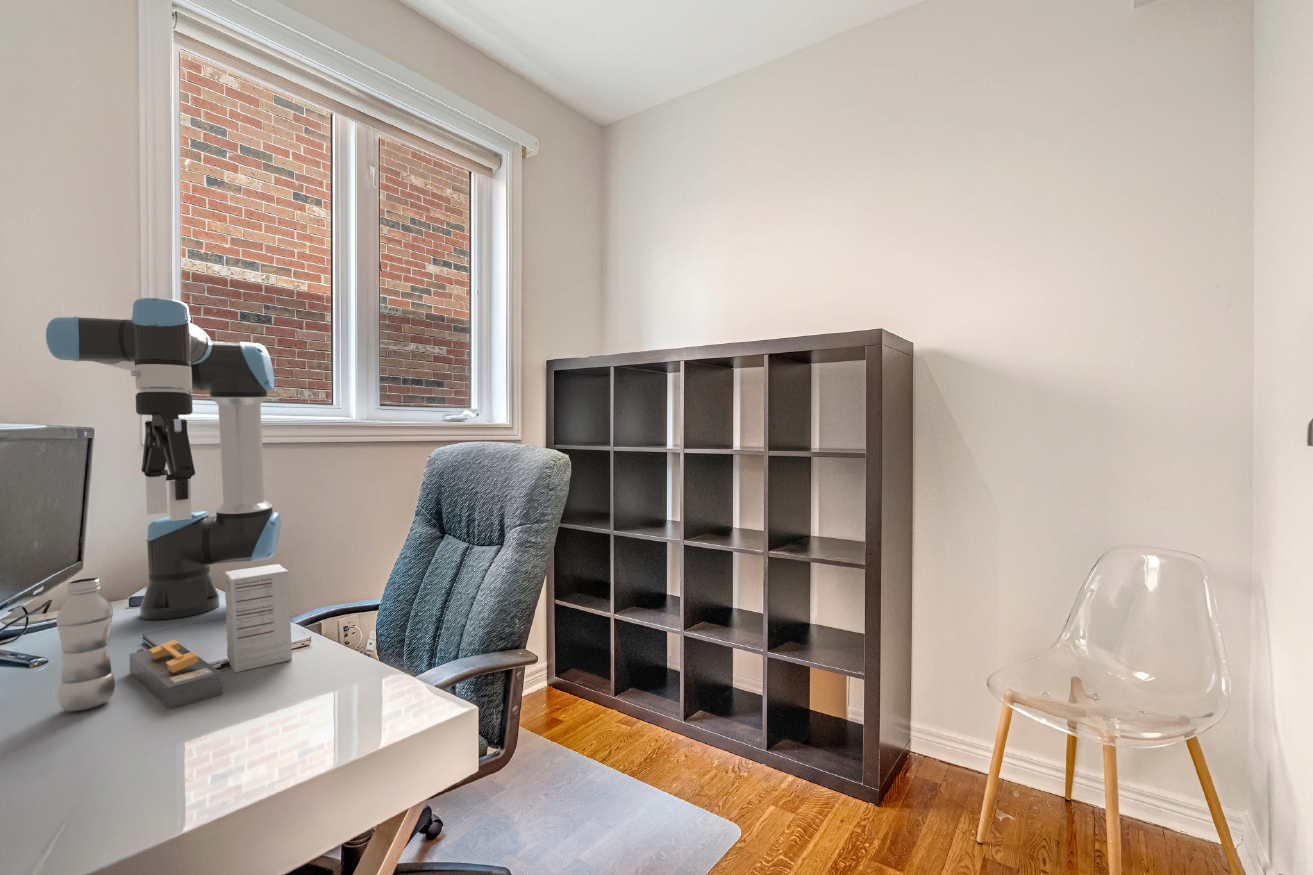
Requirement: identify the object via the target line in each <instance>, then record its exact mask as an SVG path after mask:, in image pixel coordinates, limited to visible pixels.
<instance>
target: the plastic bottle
mask: <svg viewBox="0 0 1313 875" xmlns="http://www.w3.org/2000/svg"><path fill="white" fill-rule="evenodd" d="M66 585H67V586H66V587H67V590H66V595H68V596H69V598H68V599H67V601H65V603H64V604H63V605H62V606H61V608H60V609H59V611H58V613H57V616H56V618H55V620H56V626H57V629H58V630H57V631H58V635H59V638H60V639H59V640H60V645H61V653H62V667H61V675H60V676H61V679H60V683H59V686H58V687H59V688H58V693H57V701H58V705H59V707H60V708H61V709H62V710H64V711H65V712H78V711H79V712H80V711H84V710H88V709H92V708H96V707H98V706H100V705H104V704H105V703H107V702H109V701H110V699H111V698H112V697H113V695H114V694H115V688H116V679H115V676H114V672H113V671H112V665H111V655H110V641H111V640H110V637H111V635H110V634H111V628H112V622H113V615H114V609H113V606H112V604H111V602H110V601H109V600H107V598H105V597H104V596H103V595H102V594H100V593H99V591H100V590H101V589H102V587H101V581H100V578H99V577H87V578H79V579H73V580H70V581H67V584H66Z"/></svg>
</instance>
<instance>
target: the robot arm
mask: <svg viewBox="0 0 1313 875" xmlns="http://www.w3.org/2000/svg"><path fill="white" fill-rule="evenodd" d="M191 319H192V318H191V316H190V310H189V306H188V305H187V304H186V303H185V302H183V301H180V300H175V299H169V298H162V297H161V298H160V297H159V298H157V297H141V298H137V299H136V300H135V301H134V302H133V303H132V316H131V319H121V318H119V319H117V318H116V319H115V318H97V317H79V316H71V317H70V316H69V317H67V316H65V317H59V316H58V317H54V318H52V319H51V320H50V321H49V322H48V324H46V325H47V327H46V329H45V338H46V339H45V341H46V345H47V348H48V351H49V352H50V353H51V355H52V356H53V357H54V358H56V359H57V360H60V361H72V362H73V361H74V362H94V363H99V364H103V365H106V366H109V367H114V368H119V369H120V370H121V369H123V370H126V371H129V372H130V376H132V377H135V381H134V382H135V388H136V390H140V392H137V393H136V394H135V412H136V413H137V414H136V415H140V416H151V420H145V422H144V426H145V427H144V428H145V430H144V431H145V434H144V443H143V444H144V445H143V455H142V456H143V457H142V465H141V472H142V474H143V473H144V476H145V484H146V485H145V491H146V492H145V494H146V514H147V515H157V514H166V513H168V508H169V516H165V517H161V518H157V519H155V520H153V521H150V523H149V524H148V527H147V539H146V542H147V565H148V566H147V567H148V569H147V570H148V583H147V584H148V585H147V588H146V590H145V593H144V596H143V599H142V602H141V604H140V607H139V613H140V616H139V617H140V618H141V619H143V620H148V621H149V620H150V621H154V620H155V621H156V620H158V621H159V620H171V619H178V618H179V619H180V618H184V617H190V616H195V615H199V614H203V613H207V612H209V611H211V610H214V609H217V608H218V607H219V606H220V595H219V592H218V590H217V588H216V586H215V583H214V581H213V579H212V576H211V573H210V572H211V571H210V565H219V564H222V565H224V564H232V563H233V564H235V563H245V562H246V563H247V562H251V563H253V562H256V561H262V560H269V559H270V558H271V559H272V557H273V556H274V555H275V554H276V550H277V548H278V544H279V538H280V533H281V531H280V530H281V523H282V522H281V520H282V519H281V513H279V512H277V511H273V504H271V503H270V502H268V501H267V500H266V496H265V495H266V494H265V474H264V456H263V454H264V452H263V430H262V429H263V428H262V410H261V407H262V406H261V404H263V402H264V401H266V400H267V399H268V392H270V391H273V390H274V388H275V374H274V373H275V372H274V367H273V364H272V360H271V359H272V358H271V357H270V354H269V352H268V350H267V348H266V347H265V346H264V345H262V344H260V343H255V342H246V341H212V340H211V338H210V336H209V335H208V334H207V332H206V331H205V330H203V329H202V328H201V327H200V326H197V324H193V323H191ZM191 390H192V391H194V390H195V391H209V397H210V399H211V400H212V401H213V402H215V404H217V406H218V425H219V442H220V443H219V444H220V446H219V447H220V461H221V462H220V464H221V465H220V466H221V480H222V481H221V483H222V499H223V501H222V502H223V503H222V504H220V506H219V507H218V508H217V509H216V510H215V511H216V512H215V513H216V515H215V516H210V514H209V513H208V511H206V510H202V511H198V510H197V511H193V512H192V495H191V494H192V493H191V492H192V491H191V478H192V476H193V477H194V476H195V475H196V470H195V466H194V462H193V461H194V460H193V456H192V449H191V445H190V440H189V434H188V421H187V419H184V418H181V419H180V417H179V416H188V415H192V414H193V411H194V410H193V408H194V407H193V395H192V394H191V393H189V391H191ZM166 467H167V468H168V469H166ZM167 481H168V487H167ZM167 488H168V491H167ZM168 499H169V500H168ZM168 501H169V502H168ZM168 505H169V507H168Z"/></svg>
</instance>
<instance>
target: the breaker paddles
mask: <svg viewBox="0 0 1313 875" xmlns="http://www.w3.org/2000/svg"><path fill="white" fill-rule="evenodd" d="M179 644H180V643H179V642H178V641H177V640H176V639H171V640H169V641H167V642H165V643H161V644H159V645H157V646H155V647H152V648H149V651H150V654H151V656H152V657H153V658H155V659H157V658H160V657H162V656H165V655H167V654H170V655H172V656H173V657H175V659H172V660H170V661H168V662H166V665H167V668H168V669H169V670H170V671H171V672H172V673H174V672H176V671H178V670H181V669H183V668H185V667H187V666H190V665H192V664H194V663H197V662H199V661H198V658H197V656H198V655H197V654H195V653H194V652H193V651H190V652H189V653H187V654H184V655H182V654H180V653H179V652H177V650H179V649H180V646H179Z"/></svg>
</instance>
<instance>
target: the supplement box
mask: <svg viewBox="0 0 1313 875" xmlns="http://www.w3.org/2000/svg"><path fill="white" fill-rule="evenodd" d="M289 571H290V570H288V569H286V568H284V567H283V566H282V565H281V564H278V563H277V564H276V563H275V564H269V565H262V566H254V567H249V568H241V569H235V570H234V569H233V570H228V571H225V572H224V593H225V594H224V595H225V596H224V597H225V610H226V617H225V618H226V619H225V620H226V646H227V647H226V648H227V649H226V650H227V659H228V658H229V661H228V663H229V662H230V663H229V665H230V668H232V670H233V673H239V672H243V671H248V670H254V669H256V668H261V667H265V666H269V665H274V664H279V663H284V662H287V661H291V660H292V659H293V657H292V655H293V652H292V627H291V626H292V624H291V600H290V597H291V594H290V593H291V592H290V572H289Z"/></svg>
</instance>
